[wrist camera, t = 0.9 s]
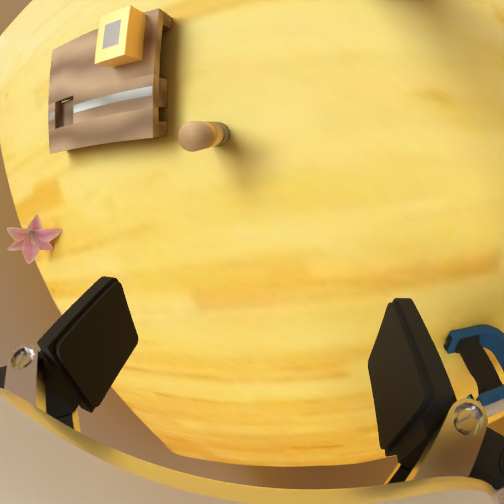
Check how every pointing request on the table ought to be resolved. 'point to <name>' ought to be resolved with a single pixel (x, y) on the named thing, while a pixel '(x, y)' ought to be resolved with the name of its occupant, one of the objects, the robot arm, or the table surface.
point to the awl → (202, 135)
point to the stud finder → (120, 37)
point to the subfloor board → (106, 92)
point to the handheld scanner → (481, 362)
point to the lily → (32, 239)
